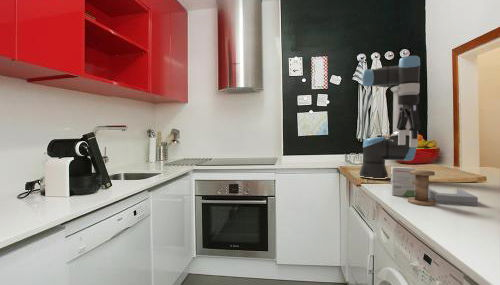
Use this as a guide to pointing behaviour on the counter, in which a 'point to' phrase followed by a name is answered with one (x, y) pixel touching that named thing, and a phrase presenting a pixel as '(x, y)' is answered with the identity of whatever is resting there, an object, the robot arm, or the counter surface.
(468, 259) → the counter surface
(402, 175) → the ink box
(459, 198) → the grey piece
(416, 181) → the bobbin
